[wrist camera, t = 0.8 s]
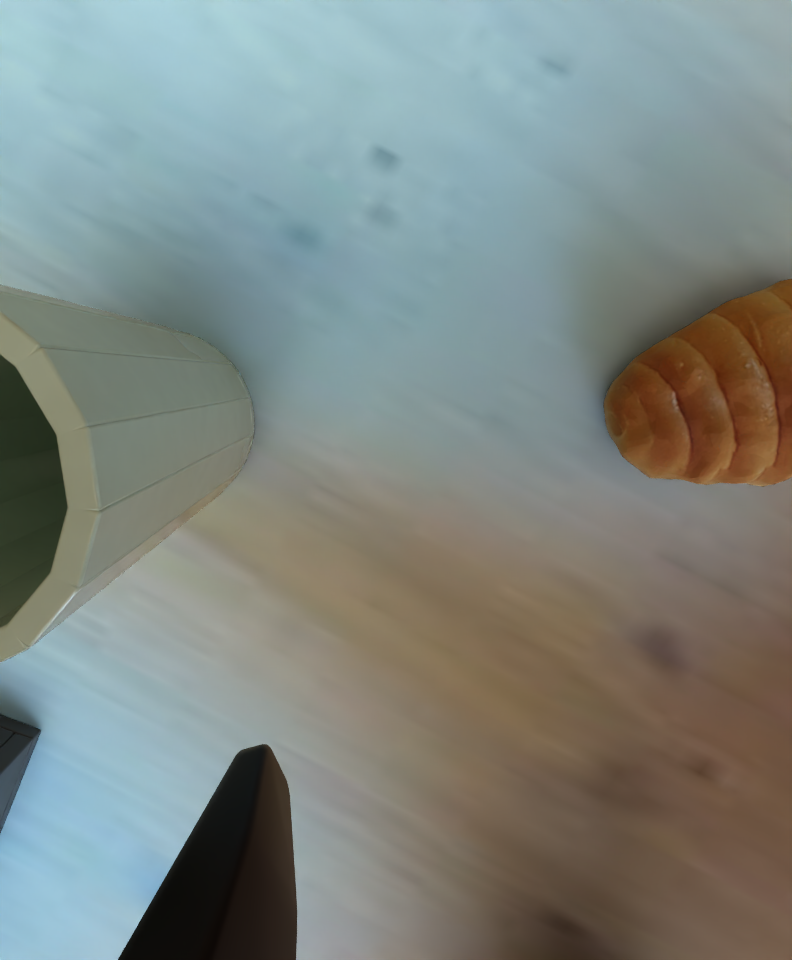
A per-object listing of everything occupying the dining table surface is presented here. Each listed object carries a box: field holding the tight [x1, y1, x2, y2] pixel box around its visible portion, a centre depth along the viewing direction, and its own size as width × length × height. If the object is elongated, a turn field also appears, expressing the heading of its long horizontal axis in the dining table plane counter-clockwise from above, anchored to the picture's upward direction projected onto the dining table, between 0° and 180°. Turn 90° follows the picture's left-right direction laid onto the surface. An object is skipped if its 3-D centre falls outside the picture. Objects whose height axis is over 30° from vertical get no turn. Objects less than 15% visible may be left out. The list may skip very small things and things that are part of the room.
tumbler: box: [0, 284, 255, 663], centre depth 15 cm, size 6×6×13 cm
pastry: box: [604, 279, 792, 487], centre depth 21 cm, size 9×7×4 cm
